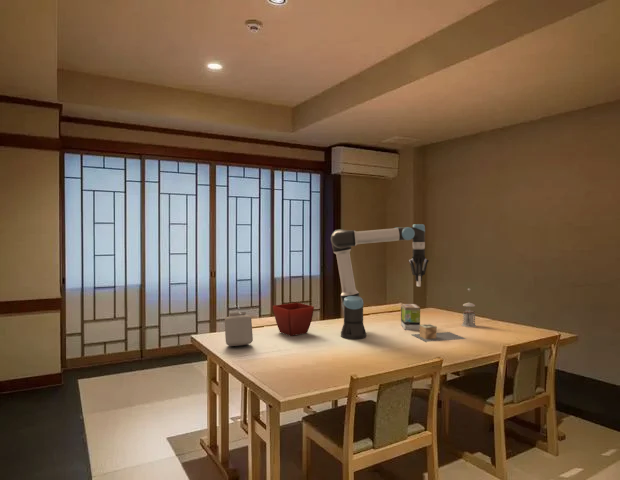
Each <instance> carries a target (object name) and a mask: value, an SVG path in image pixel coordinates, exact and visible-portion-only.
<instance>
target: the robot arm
mask: <svg viewBox="0 0 620 480" xmlns="http://www.w3.org/2000/svg"><path fill="white" fill-rule="evenodd" d="M411 240H412V258H411V259H409V260H408V262H409V265H410V269H411V273H412V276H414V278H415V281H416V287H419V288H420V287H421V286H422V283H421V282H422V281H423V277H424V276H425V275H426V272H427V266H428V263H429V261H430V260H429V259H427V258H426V256H425V255H426V249H425V248H426V227H425V224H422V223H421V224H420V223H417V224H416V223H415V224H412V227H410V226H405V227H403V226H402V227H399V226H398V227H394V228H383V229H381V228H380V229H371V230H359V231H356V230H354V229H351V230H350V229H342V228H340V229H335V230H334V231H332V234H331V236H330V243H331V247H332V251H333V254H335V255H336V260H337V261H336V262H337V268H338V274H339V279H340V280H339V281H340V286H341V294H340V300H341V309H342V310H343V324H342V328H341V331H340V337H341V338H343V339H348V340H361V339H365V338H367V331H366V329H365V325H364V299H363V298H362V297H361V296H360V293H359V292H360V291H358V290H357V288H356V283H355V276H354V271H353V270H354V269H353V266H352V259H351V253H350V252H351V250H352V247H357V245H361V244H363V245H364V244H372V243H373V244H374V243H376V244H377V243H384V242H385V243H387V242H396V241H398V242H399V241H411Z"/></svg>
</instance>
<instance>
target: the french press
mask: <svg viewBox="0 0 620 480" xmlns="http://www.w3.org/2000/svg"><path fill="white" fill-rule="evenodd" d="M471 290H472V289H471V288H467V291H471ZM462 306H463V307H466V308H468V309H465V310H463V313H462V323H461V324H460V325H461V327H464V328H477V325H476V312H475V310H471V308H474V307H476V304H474V303H472V302H466V303H465V302H464V303H463V304H462Z"/></svg>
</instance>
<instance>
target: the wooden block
mask: <svg viewBox="0 0 620 480" xmlns="http://www.w3.org/2000/svg"><path fill="white" fill-rule="evenodd" d="M436 333H437V326H436V325H433V324H432V323H428V324H425V323H424V324H420V330H419V334H420V337H422V338H424V339H433V338H436Z"/></svg>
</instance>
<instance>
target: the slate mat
mask: <svg viewBox="0 0 620 480" xmlns="http://www.w3.org/2000/svg"><path fill="white" fill-rule="evenodd" d="M411 336H413V337H414V338H416V339H419V340H420V341H423V342H425V343H427V342H442V341H454V340H467V338H466V337H463V336H461V335H458V334H455V333H453V332H451V331H443V332H436V338H433V339H424V338H422V337H420V333H413V334H411Z"/></svg>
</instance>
